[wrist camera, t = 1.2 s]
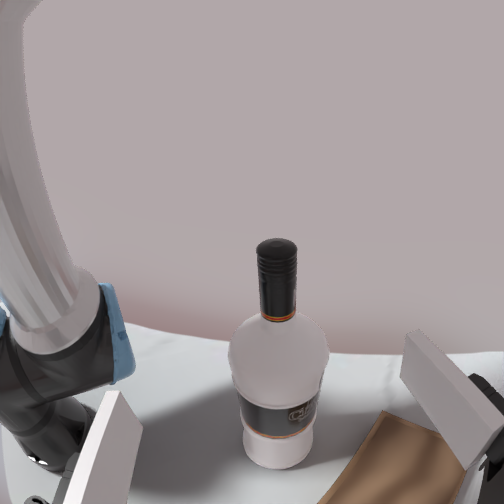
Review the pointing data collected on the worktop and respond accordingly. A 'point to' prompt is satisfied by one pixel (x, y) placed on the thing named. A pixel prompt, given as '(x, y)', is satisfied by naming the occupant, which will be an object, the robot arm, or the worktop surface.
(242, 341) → the vodka
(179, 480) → the worktop surface
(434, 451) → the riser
